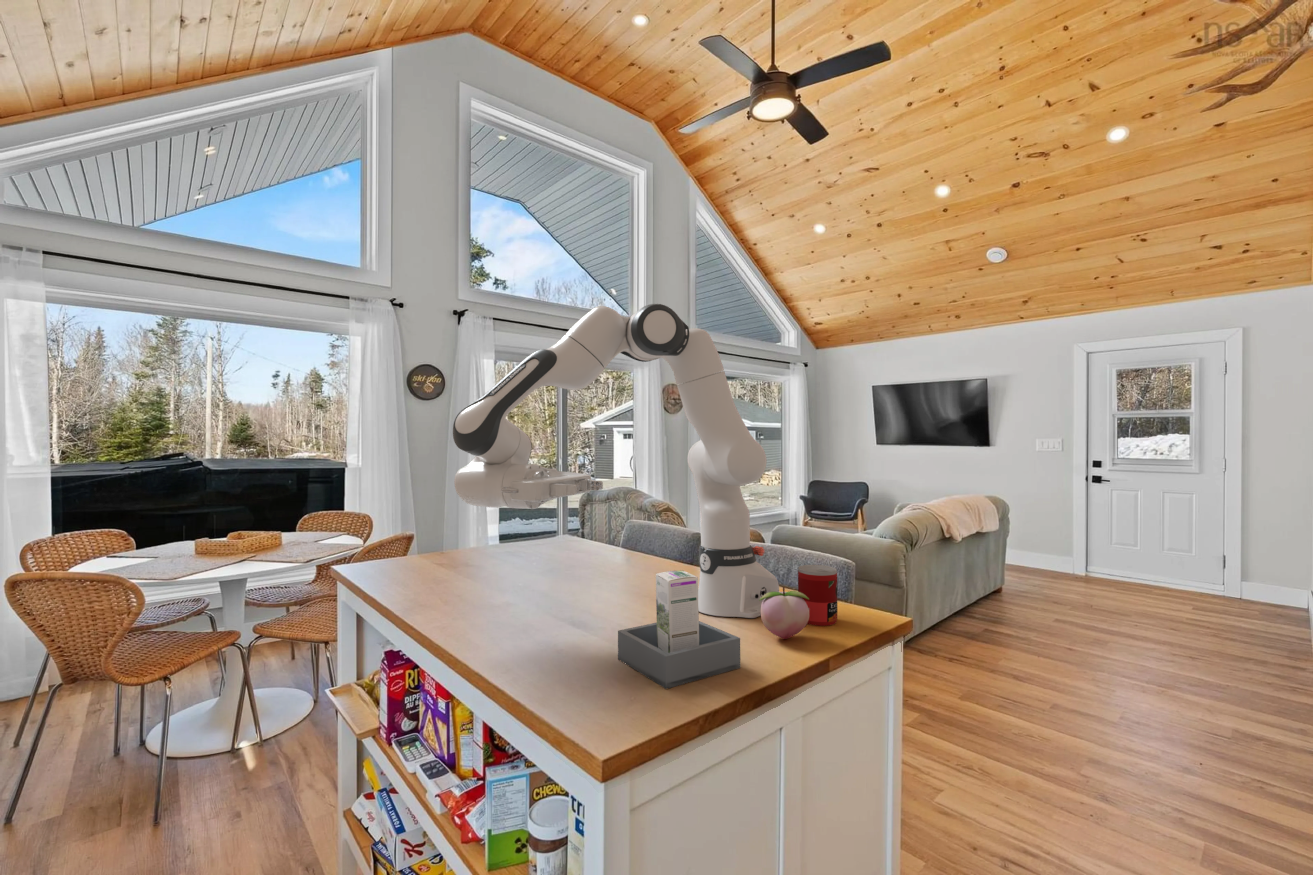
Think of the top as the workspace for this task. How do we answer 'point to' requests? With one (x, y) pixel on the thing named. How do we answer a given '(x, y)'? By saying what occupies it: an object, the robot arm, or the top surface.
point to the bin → (678, 655)
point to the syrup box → (677, 611)
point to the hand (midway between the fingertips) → (589, 487)
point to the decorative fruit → (784, 612)
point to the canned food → (819, 593)
